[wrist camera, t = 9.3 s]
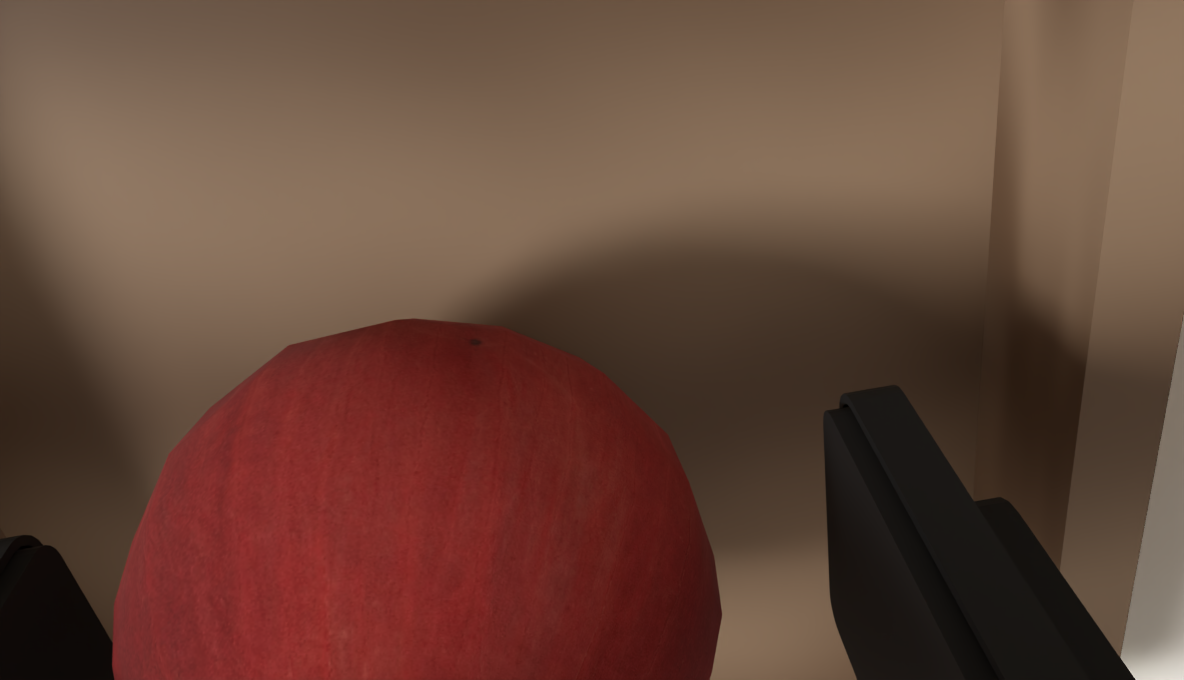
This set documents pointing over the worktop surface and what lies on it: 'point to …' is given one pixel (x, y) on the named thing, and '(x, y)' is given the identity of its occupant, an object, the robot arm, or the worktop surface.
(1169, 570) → the worktop surface
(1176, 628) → the worktop surface
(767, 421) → the walnut tray
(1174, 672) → the worktop surface
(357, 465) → the onion
